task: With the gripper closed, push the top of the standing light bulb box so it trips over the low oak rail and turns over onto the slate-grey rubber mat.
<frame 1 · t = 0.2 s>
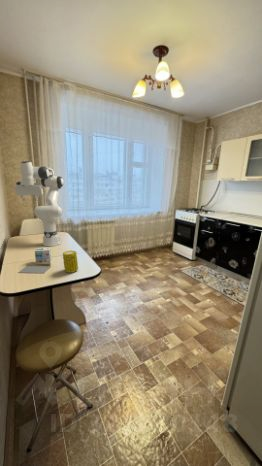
hand: (30, 200, 154), 47 cm above the table, fingers open, 8 cm apart
mat: (35, 269, 140), on the table
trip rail: (39, 265, 147), on the table
light bulb box: (43, 262, 153), on the table
food: (71, 270, 140), on the table
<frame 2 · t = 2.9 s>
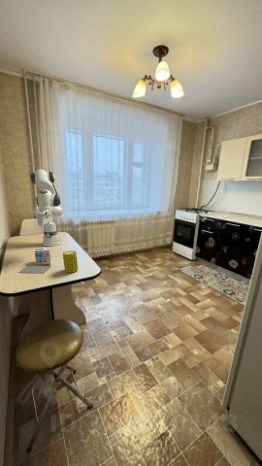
hand: (46, 228, 157), 25 cm above the table, fingers closed
nothing on the table moved.
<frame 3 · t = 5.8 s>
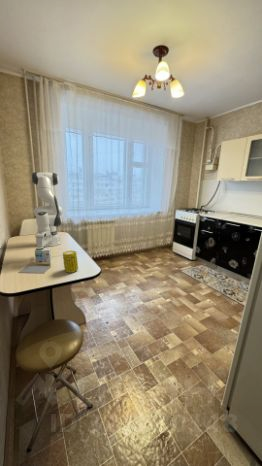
hand: (45, 249, 156), 9 cm above the table, fingers closed
light bulb box: (43, 262, 153), on the table, touching gripper
everything else where it was.
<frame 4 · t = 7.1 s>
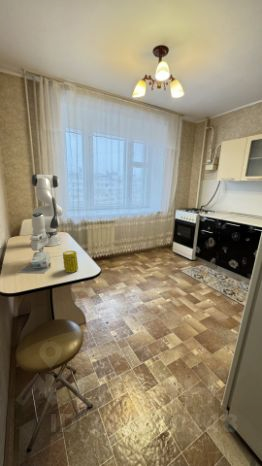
hand: (41, 252, 148), 9 cm above the table, fingers closed
light bulb box: (42, 254, 148), point 7 cm above the table, touching mat, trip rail
everything else where it was.
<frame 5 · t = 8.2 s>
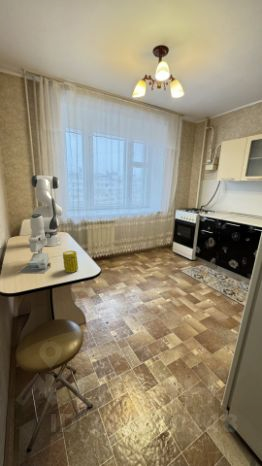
hand: (40, 253, 147), 9 cm above the table, fingers closed
light bulb box: (41, 256, 146), point 7 cm above the table, touching gripper, mat
everything else where it was.
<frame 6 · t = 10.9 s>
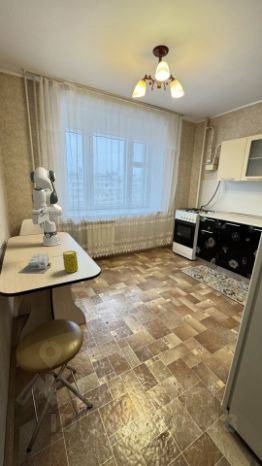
hand: (42, 227, 149), 27 cm above the table, fingers closed
light bulb box: (41, 256, 147), point 6 cm above the table, touching mat, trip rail
everything else where it was.
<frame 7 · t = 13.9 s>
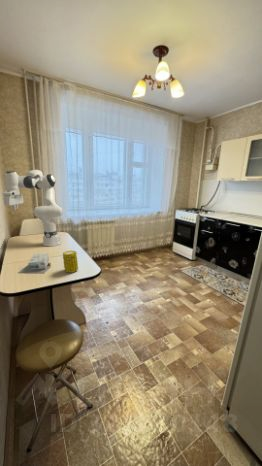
hand: (15, 210, 154), 39 cm above the table, fingers closed
nothing on the table moved.
at the end: light bulb box tilted 105°; light bulb box inside the target area (9.5 cm from its centre), point 6.3 cm above the table; light bulb box touching mat, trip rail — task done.
